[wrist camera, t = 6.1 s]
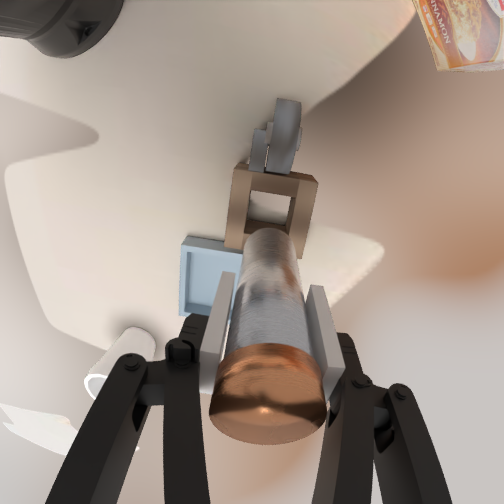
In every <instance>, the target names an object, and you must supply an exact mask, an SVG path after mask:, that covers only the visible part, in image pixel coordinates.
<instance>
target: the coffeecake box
mask: <svg viewBox="0 0 504 504" xmlns="http://www.w3.org/2000/svg"><path fill="white" fill-rule="evenodd" d="M413 2H414V5H415V7H416V9H417V12H418V15H419V17H420V20H421V22H422V25H423V28H424V31H425V33H426V36H427V40H428V43H429V46H430V49H431V52H432V55H433V59H434V62H435V66H436V70H437V71H454V72H468V73H474V72H483V71H492V70H504V0H413Z"/></svg>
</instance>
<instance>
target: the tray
mask: <svg viewBox="0 0 504 504" xmlns="http://www.w3.org/2000/svg"><path fill="white" fill-rule="evenodd" d="M242 256H243V250H240V249H234V248H227V247H224V242H223V241H217V240H210V239H204V238H197V237H191V236H187V237H186V238H185V240H184V241H183V243H182V244H181V259H180V285H179V315H180V316H185V317H188V316H189V315H190V314H191V313H196V314H201V315H207V316H210V313H211V309H212V305H213V302H214V298H215V295H216V292H217V288H218V285H219V281H220V278H221V274H222V271H225V272H232V273H236V274H235V281H234V288H233V296H232V303H231V310H230V316H229V321H228V324H230V321H231V315H232V310H233V305H234V299H235V294H236V288H237V283H238V277H239V272H240V267H241V261H242Z"/></svg>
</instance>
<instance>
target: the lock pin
mask: <svg viewBox="0 0 504 504" xmlns="http://www.w3.org/2000/svg"><path fill="white" fill-rule="evenodd" d="M209 416H210V420H211V421H212V423H213V425H214V426H215V427H216V428H217V429H218V430H220V431H221V432H222V433H224V434H225V435H227V436H229V437H231V438H234V439H236V440H239V441H243V442H247V443H252V444H260V445H274V444H275V445H276V444H284V443H289V442H293V441H297V440H300V439H302V438H305V437H307V436H309V435H310V434H312V433H314V432H315V431H316V430H318V429H319V428H320V427H321V426H322V424H323V423H324V421H325V419H326V416H327V407H326V400H325V394H324V387H323V381H322V375H321V370H320V367H319V365H318V363H317V362H316V360H315V359H314V355H313V348H312V342H311V336H310V330H309V324H308V318H307V312H306V306H305V301H304V295H303V289H302V284H301V279H300V273H299V268H298V263H297V257H296V252H295V247H294V244H293V241H292V240H291V238H290V237H289V236H288V235H287V234H286V233H285V232H283V231H281V230H279V229H276V228H263V229H260V230H257V231H255V232H254V233H253V234H251V235H250V236H249V238H248V239H247V241H246V243H245V246H244V250H243V256H242V261H241V267H240V272H239V277H238V283H237V288H236V294H235V299H234V305H233V310H232V315H231V321H230V327H229V332H228V338H227V343H226V349H225V354H224V359H223V360H222V361H221V363H220V364H219V366H218V370H217V372H216V377H215V382H214V387H213V393H212V398H211V403H210V408H209Z"/></svg>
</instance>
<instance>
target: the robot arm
mask: <svg viewBox="0 0 504 504" xmlns="http://www.w3.org/2000/svg"><path fill="white" fill-rule="evenodd" d="M122 4H123V0H0V36H3V37H11V38H20V39H25V40H27V41H28V42H30V43H31V44H32V45H33V46H34V47H36V48H37V49H38V50H39V51H40V52H42V53H43V54H45V55H47V56H51V57H56V58H70V57H74V56H76V55H79V54H81V53H83V52H85V51H86V50H88V49H89V48H91V47H92V46H93V45H95V44H96V43H97V42H98V41H99V40H100V39H101V38H102V37H103V36H104V35H105V34H106V33H107V32H108V30H109V29H110V28H111V26H112V25H113V23H114V22H115V20H116V18H117V16H118V14H119V12H120V10H121V7H122ZM235 274H236V273H232V272H225V271H222V274H221V278H220V281H219V285H218V288H217V292H216V295H215V298H214V302H213V305H212V309H211V313H210V316H207V315H201V314H196V313H191V314H190V315H189V316H188V317H187V318H186V319H185V321H184V324H183V327H182V329H181V332H180V334H179V337H178V338H174V339H172V340H170V341H169V342H168V343H167V344H166V346H165V356H166V359H164V360H161V361H146V359H145V358H144V357H143V356H141V355H139V354H136V353H127V354H124V355H122V356H120V357H119V358H118V359H117V361H116V363H115V364H114V366H113V368H112V370H111V372H110V373H109V375H108V377H107V379H106V381H105V382H104V384H103V386H102V388H101V390H100V391H99V393H98V395H97V397H96V399H95V401H94V403H93V405H92V407H91V408H90V410H89V412H88V414H87V416H86V418H85V420H84V422H83V424H82V426H81V428H80V430H79V432H78V434H77V436H76V438H75V440H74V442H73V444H72V446H71V448H70V450H69V452H68V454H67V456H66V458H65V460H64V462H63V465H62V467H61V469H60V471H59V473H58V475H57V478H56V480H55V482H54V484H53V486H52V489H51V491H50V494H49V496H48V498H47V500H46V503H45V504H116V503H117V500H118V497H119V494H120V492H121V488H122V486H123V483H124V480H125V477H126V474H127V471H128V468H129V465H130V463H131V460H132V457H133V454H134V451H135V449H136V446H137V443H138V440H139V438H140V435H141V432H142V430H143V427H144V424H145V422H146V419H147V416H148V413H149V411H150V408H151V406H152V405H164V421H163V464H164V465H163V468H164V499H165V504H210V497H209V490H208V481H207V472H206V463H205V453H204V443H203V432H202V420H201V406H200V393H205V394H211V395H212V393H213V387H214V382H215V377H216V372H217V370H218V366H219V364H220V363H221V358H222V353H223V348H224V342H225V337H226V332H227V326H228V321H229V316H230V310H231V303H232V296H233V288H234V281H235ZM305 306H306V312H307V318H308V324H309V330H310V336H311V342H312V348H313V355H314V359H315V360H316V362H317V363H318V365H319V367H320V370H321V375H322V381H323V387H324V394H325V400H326V404H327V402H328V400H329V401H330V408H329V410H328V411H327V416H326V419H325V420H326V425H325V432H324V438H323V445H322V451H321V458H320V463H319V468H318V474H317V479H316V484H315V489H314V494H313V499H312V504H371V493H372V479H373V459H374V463H375V468H376V472H377V476H378V482H379V486H380V491H381V496H382V501H383V504H452V500H451V497H450V494H449V491H448V487H447V484H446V481H445V478H444V474H443V471H442V468H441V465H440V462H439V460H438V457H437V454H436V452H435V448H434V446H433V443H432V440H431V437H430V435H429V432H428V429H427V427H426V424H425V422H424V419H423V417H422V414H421V412H420V409H419V407H418V404H417V402H416V399H415V397H414V395H413V393H412V391H411V389H409V388H408V387H407V386H405V385H403V384H399V383H396V384H393V385H391V386H390V388H389V389H385V388H382V387H378V386H376V385H373V383H372V380H371V379H370V378H369V377H368V376H367V375H365V374H363V371H362V367H361V364H360V361H359V358H358V354H357V351H356V349H355V345H354V342H353V340H352V338H351V337H350V336H349V335H348V334H347V333H337V332H336V330H335V327H334V322H333V319H332V315H331V312H330V308H329V305H328V301H327V298H326V294H325V291H324V288H323V286H318V285H310V289H309V292H308V296H307V299H306V303H305ZM324 422H325V421H324Z"/></svg>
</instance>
